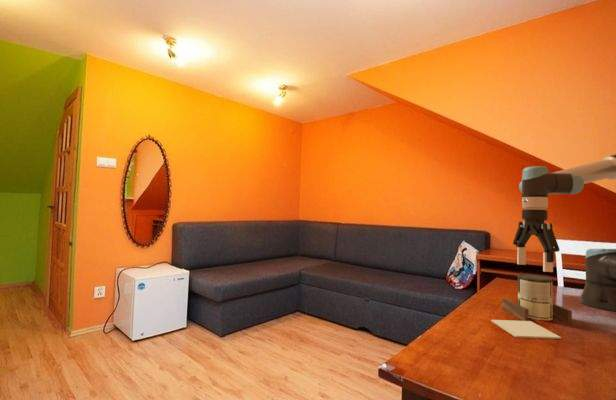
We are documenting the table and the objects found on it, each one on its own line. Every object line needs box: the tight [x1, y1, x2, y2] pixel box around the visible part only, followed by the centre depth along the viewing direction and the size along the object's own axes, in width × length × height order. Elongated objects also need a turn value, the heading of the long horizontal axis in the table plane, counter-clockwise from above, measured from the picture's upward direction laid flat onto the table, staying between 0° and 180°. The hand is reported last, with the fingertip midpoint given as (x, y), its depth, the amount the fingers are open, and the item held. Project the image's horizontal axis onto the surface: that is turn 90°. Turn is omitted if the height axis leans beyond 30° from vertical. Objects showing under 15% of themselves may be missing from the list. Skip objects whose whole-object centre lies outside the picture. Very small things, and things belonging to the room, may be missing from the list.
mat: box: [490, 319, 562, 340], centre depth 96 cm, size 13×13×1 cm
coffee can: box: [517, 272, 554, 321], centre depth 109 cm, size 10×10×14 cm
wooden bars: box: [501, 297, 573, 324], centre depth 109 cm, size 15×13×4 cm
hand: (533, 267), depth 110 cm, fingers open, 13 cm apart
